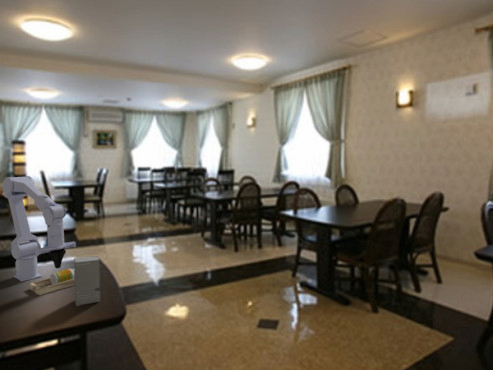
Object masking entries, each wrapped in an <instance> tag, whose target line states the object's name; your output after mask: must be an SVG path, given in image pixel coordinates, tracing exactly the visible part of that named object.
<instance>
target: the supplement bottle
mask: <svg viewBox="0 0 493 370" xmlns="http://www.w3.org/2000/svg"><path fill="white" fill-rule="evenodd" d="M49 278H50V281H51V283H52V284H51V285H53V284H57V283H60V282H64V281H67V280H71V279H74V278H75V274H74V268H66V269H63V270H59V271H55V272H52V273H51V274H50V276H49Z"/></svg>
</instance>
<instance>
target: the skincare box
mask: <svg viewBox="0 0 493 370" xmlns="http://www.w3.org/2000/svg"><path fill="white" fill-rule="evenodd" d="M73 263H74V265H73V266H74V267H73V269H74V274H75V285H74V298H75V300H74V301H75V305H76V307H80V306H83V305H88V304H94V303H99V302H100V301H101V290H100V289H101V285H100V282H101V281H100V258H99V256H98V255H94V256H83V257H75V258H74V261H73Z"/></svg>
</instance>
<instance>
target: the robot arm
mask: <svg viewBox="0 0 493 370" xmlns="http://www.w3.org/2000/svg"><path fill="white" fill-rule="evenodd" d="M2 190H3V193H4V197H5V198H6V199H7V201H8V204H9V207H10V208H9V209H10V212H11V216H12V222H13V226H14V230H15V235H16V237H15V238H14V239H13V240H12V241H11V243H10V245H11V246H10V247H11V251H10V253H11V255H12V257H13V258H14V259H15V260H16V261H15V264H14V265H15V275H13V277H14V278H15V279H17V280H18V281H20V282H25V281H29V280H33V279H37V278H40V277H42V274H40V273H39V270H38V257H39V255H43V254H48V255H49V257H50V258H51V260H52V261H53V265H54V268H56V269H60V268H61V267H62V262H63V258H64V257H65V254H66V249H69V248H76V247H77V242H76V241H68V242H65V232H64V218H65V217H66V215H67V209H66V208H65V206H64V205H63V204H62V203H61V204H60V203H56V202H55V201H54V200H53V199H52V198H51V197H50V196H49V195H48V194H43V193H42V192H41V191H40V190H39V189H38V188H37V186H36V185H35V180H34V179H33V178H32V176H30V175H26V176H17V177H16V176H15V177H9V176H8V177H7V176H6V177H5V178H4V180H3V181H2ZM26 196H29V197H30V198H31V199H32V200H34V201H33V203H34V206H36V208H37V209H39V210H40V211H41V212H42V217H43V218H44V219H43V220H44V222H45V225H46V228H47V229H46V230H47V246H44V247H42V245H41V242H40V241H39V238H38V236H36V235H34V234H32V233H31V229H30V223H29V221H28V220H29V219H28V216H27V211H26V208H25V203H24V197H26Z"/></svg>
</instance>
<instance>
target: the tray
mask: <svg viewBox="0 0 493 370" xmlns="http://www.w3.org/2000/svg"><path fill="white" fill-rule="evenodd" d="M28 284H29V290H31V291H32V292H33V293H34V294H36V295H38V296H42V295H46V294H50V293H52V292H56V291H60V290H63V289H66V288H69V287H73V286H75V278H74V279H71V280H67V281H64V282H60V283H57V284H53V285H52V283H51V281H50V277H47V278H43V279H39V280H36V281H33V282H29V283H28Z"/></svg>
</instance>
